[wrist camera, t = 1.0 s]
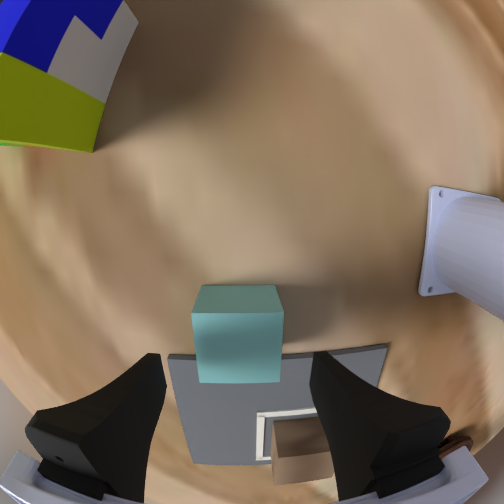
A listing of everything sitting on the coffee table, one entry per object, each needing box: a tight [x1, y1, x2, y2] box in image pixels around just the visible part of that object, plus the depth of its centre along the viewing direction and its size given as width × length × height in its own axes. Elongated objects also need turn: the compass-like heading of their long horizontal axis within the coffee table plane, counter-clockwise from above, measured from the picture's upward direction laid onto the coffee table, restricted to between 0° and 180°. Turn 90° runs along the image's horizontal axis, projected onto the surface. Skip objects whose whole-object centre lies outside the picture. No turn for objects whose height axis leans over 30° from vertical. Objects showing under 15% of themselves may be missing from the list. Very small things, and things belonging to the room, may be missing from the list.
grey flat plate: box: [167, 344, 387, 465], centre depth 19 cm, size 16×14×1 cm
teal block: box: [191, 285, 284, 383], centre depth 15 cm, size 4×4×4 cm
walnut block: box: [270, 416, 334, 485], centre depth 18 cm, size 5×5×4 cm
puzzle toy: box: [0, 0, 139, 153], centre depth 8 cm, size 10×10×10 cm
